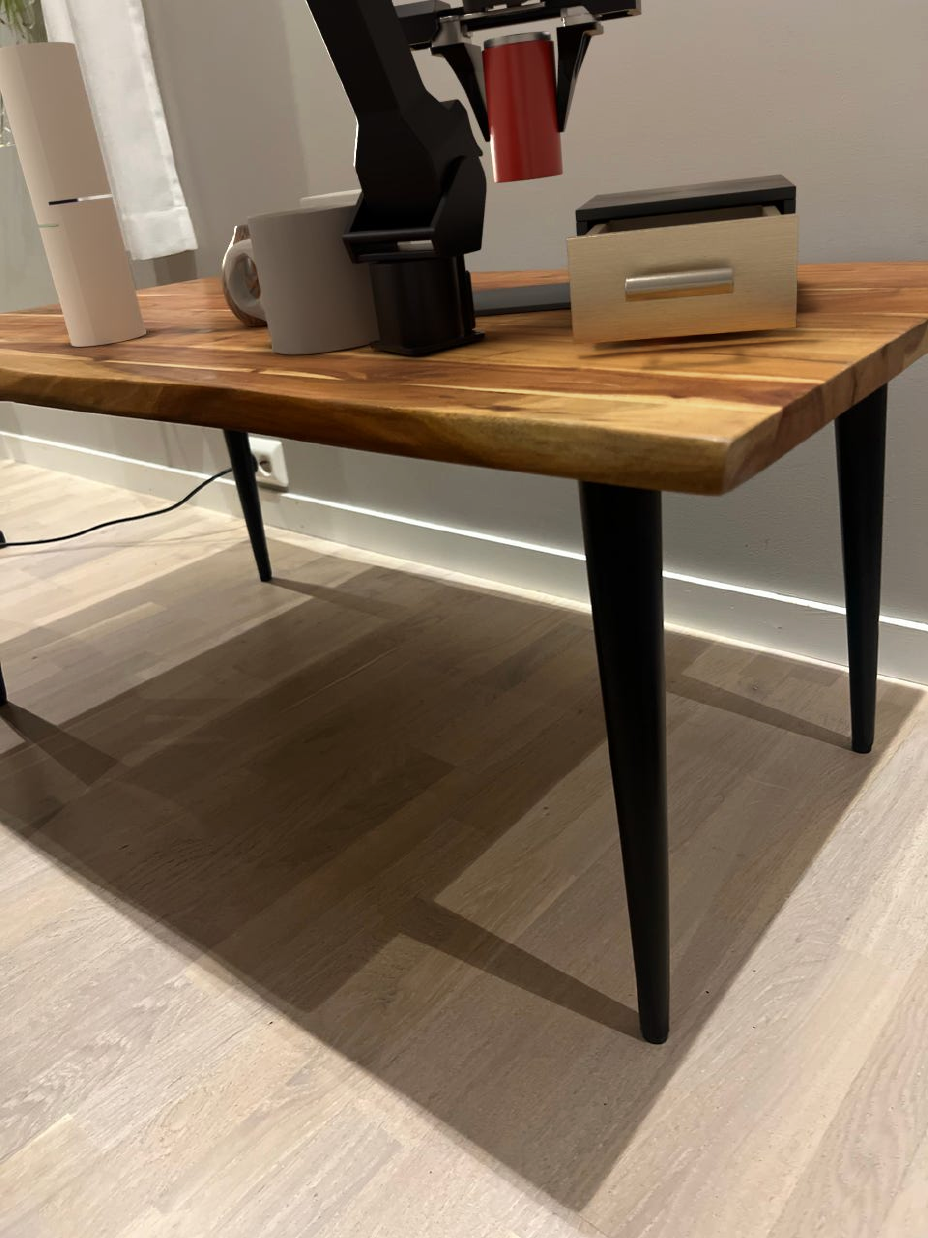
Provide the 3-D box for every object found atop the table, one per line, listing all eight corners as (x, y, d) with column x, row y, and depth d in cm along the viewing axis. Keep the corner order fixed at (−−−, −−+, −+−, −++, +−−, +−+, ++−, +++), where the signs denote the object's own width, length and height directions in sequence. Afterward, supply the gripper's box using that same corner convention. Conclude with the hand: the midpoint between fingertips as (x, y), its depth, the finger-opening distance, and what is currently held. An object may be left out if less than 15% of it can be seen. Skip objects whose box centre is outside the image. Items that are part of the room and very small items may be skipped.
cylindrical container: (132, 341, 94) (56, 38, 83) (60, 349, 95) (-26, 50, 84) (155, 328, 100) (87, 46, 90) (87, 336, 101) (11, 56, 90)
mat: (575, 307, 81) (575, 301, 81) (435, 319, 84) (434, 313, 84) (590, 285, 92) (590, 279, 92) (465, 296, 95) (464, 291, 95)
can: (522, 180, 77) (509, 32, 73) (480, 183, 81) (466, 44, 77) (577, 172, 80) (568, 28, 75) (534, 175, 84) (523, 40, 80)
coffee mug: (417, 327, 82) (399, 196, 77) (346, 353, 74) (322, 210, 70) (292, 330, 88) (269, 209, 84) (215, 355, 81) (186, 224, 77)
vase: (264, 329, 91) (244, 227, 87) (215, 329, 95) (194, 231, 91) (317, 315, 95) (300, 217, 92) (269, 315, 99) (251, 221, 96)
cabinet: (793, 312, 69) (796, 185, 65) (582, 329, 72) (574, 209, 69) (779, 281, 81) (781, 173, 78) (601, 297, 85) (595, 195, 81)
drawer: (801, 341, 56) (805, 221, 53) (565, 358, 59) (557, 246, 56) (781, 292, 71) (783, 197, 68) (594, 308, 74) (589, 218, 72)
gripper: (349, -95, 68) (384, 155, 75) (623, -150, 63) (634, 122, 70) (396, -69, 78) (423, 150, 84) (637, -116, 73) (645, 121, 79)
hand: (524, 136), depth 79 cm, fingers closed on can, 5 cm apart
